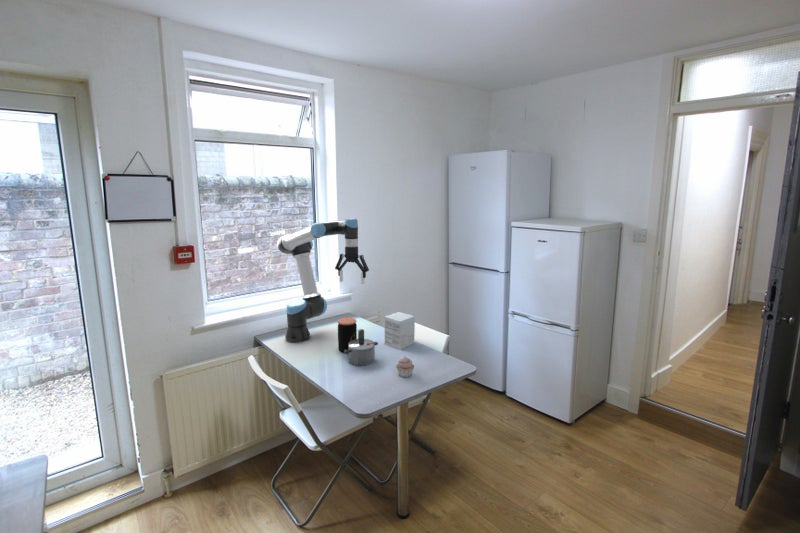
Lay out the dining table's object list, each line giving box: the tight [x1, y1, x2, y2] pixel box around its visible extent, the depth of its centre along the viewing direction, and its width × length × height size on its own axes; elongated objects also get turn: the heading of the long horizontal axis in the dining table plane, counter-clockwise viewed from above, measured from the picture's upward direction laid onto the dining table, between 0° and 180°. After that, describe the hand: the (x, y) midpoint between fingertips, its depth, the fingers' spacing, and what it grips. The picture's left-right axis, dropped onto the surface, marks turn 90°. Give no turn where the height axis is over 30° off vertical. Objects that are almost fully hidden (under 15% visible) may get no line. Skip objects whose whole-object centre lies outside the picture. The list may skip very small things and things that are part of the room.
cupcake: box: [395, 356, 415, 379], centre depth 201 cm, size 9×9×10 cm
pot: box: [343, 341, 379, 367], centre depth 217 cm, size 20×14×9 cm
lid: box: [348, 328, 375, 351], centre depth 215 cm, size 14×14×10 cm
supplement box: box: [384, 311, 416, 350], centre depth 240 cm, size 13×13×18 cm
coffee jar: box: [337, 317, 358, 354], centre depth 230 cm, size 11×11×18 cm
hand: (352, 282), depth 231 cm, fingers open, 13 cm apart
